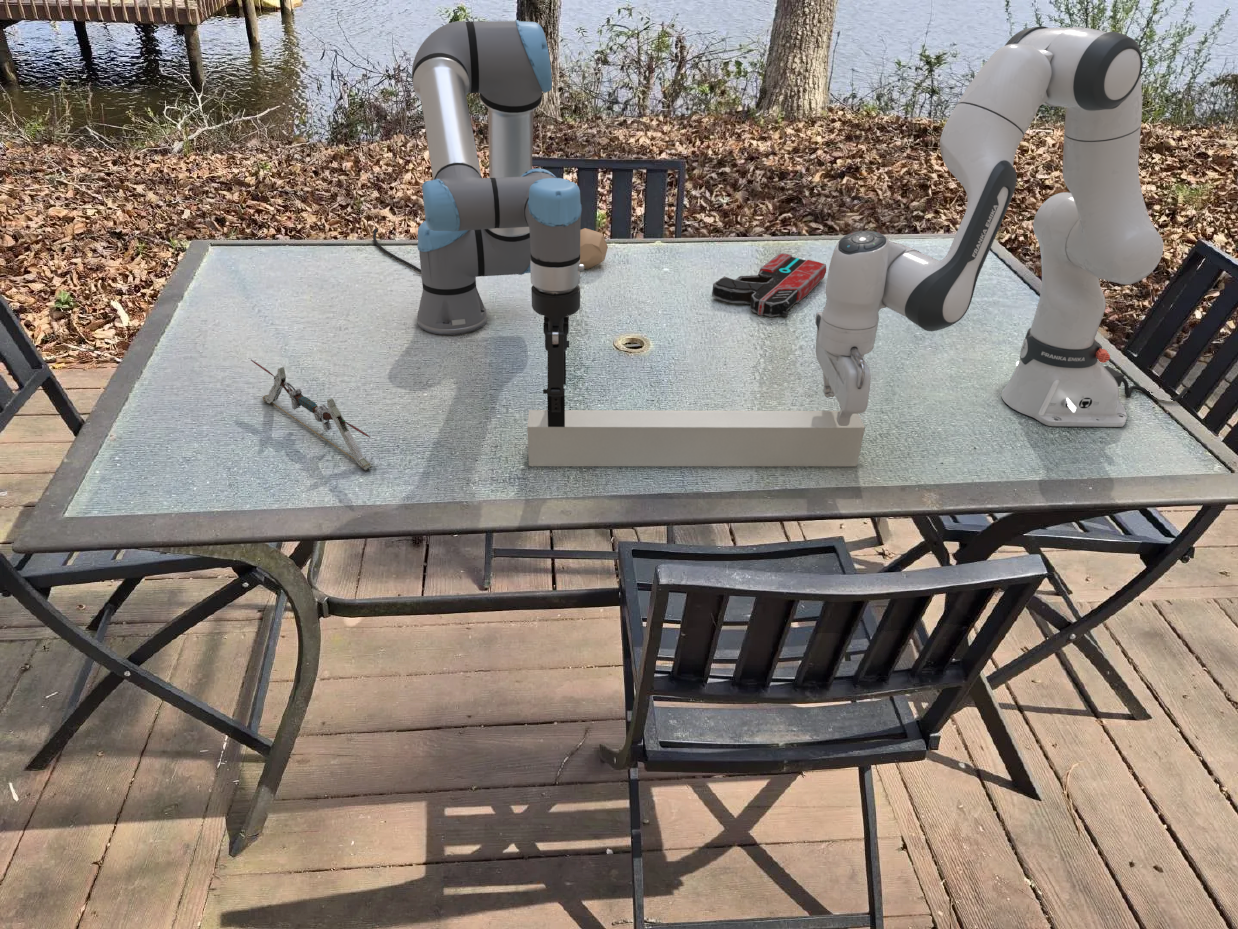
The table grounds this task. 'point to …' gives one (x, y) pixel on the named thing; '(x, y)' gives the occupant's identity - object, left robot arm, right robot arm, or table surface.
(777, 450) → the post
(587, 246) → the squash
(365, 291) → the table surface
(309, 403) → the bow
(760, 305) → the gun
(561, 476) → the table surface
